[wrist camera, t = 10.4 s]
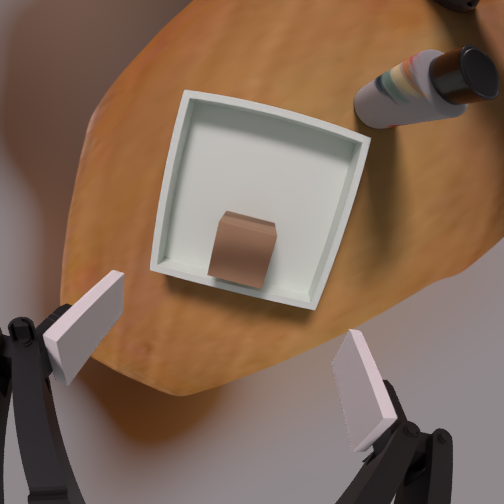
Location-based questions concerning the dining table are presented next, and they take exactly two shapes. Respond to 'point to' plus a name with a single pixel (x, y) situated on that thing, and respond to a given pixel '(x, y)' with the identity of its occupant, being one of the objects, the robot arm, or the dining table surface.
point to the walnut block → (242, 249)
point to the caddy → (257, 192)
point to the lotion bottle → (428, 88)
